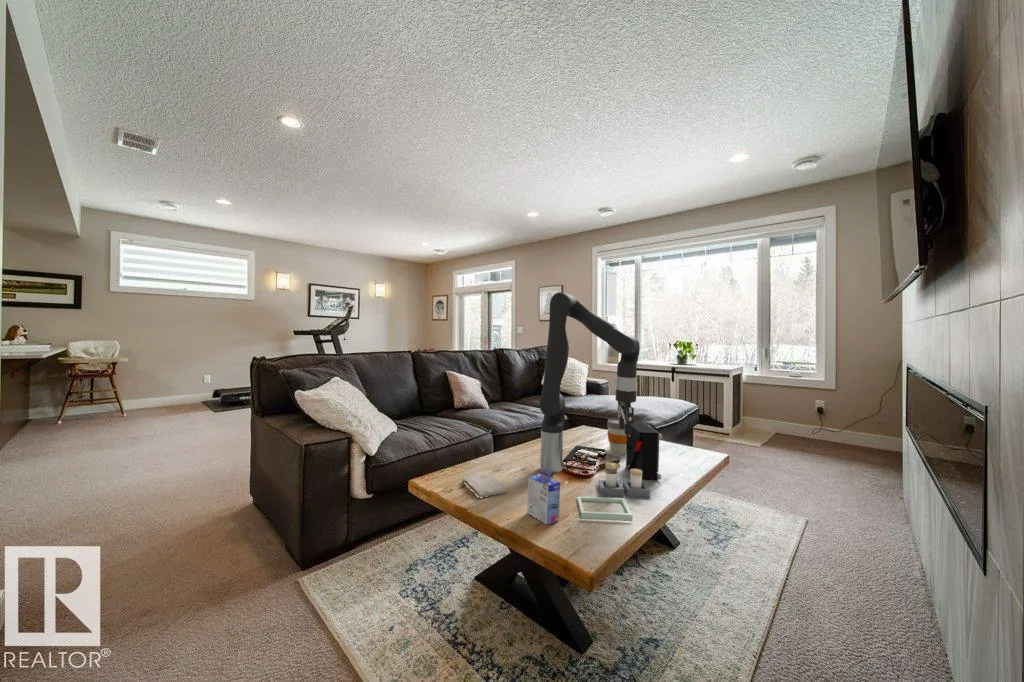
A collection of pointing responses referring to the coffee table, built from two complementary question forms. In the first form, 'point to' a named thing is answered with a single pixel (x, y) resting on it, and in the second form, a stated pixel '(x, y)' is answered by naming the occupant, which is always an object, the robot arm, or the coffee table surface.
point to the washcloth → (485, 485)
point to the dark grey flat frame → (576, 448)
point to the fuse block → (626, 488)
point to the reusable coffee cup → (616, 437)
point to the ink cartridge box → (543, 498)
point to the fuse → (611, 475)
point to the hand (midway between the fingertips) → (624, 431)
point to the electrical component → (643, 450)
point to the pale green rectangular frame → (604, 515)
